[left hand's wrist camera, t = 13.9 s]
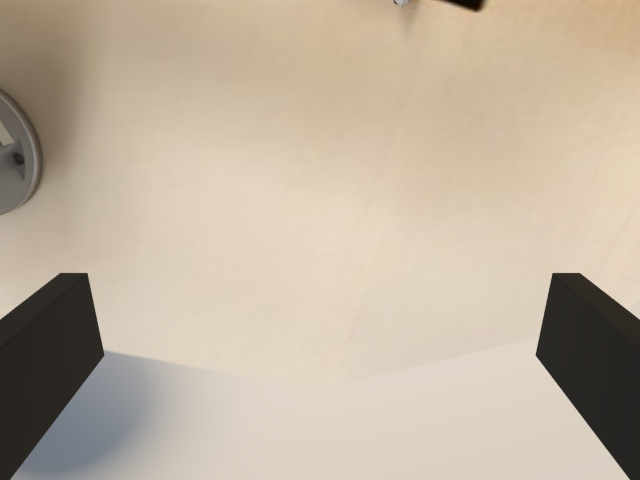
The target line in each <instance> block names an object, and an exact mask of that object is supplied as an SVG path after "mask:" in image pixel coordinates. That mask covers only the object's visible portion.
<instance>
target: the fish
mask: <svg viewBox="0 0 640 480" xmlns="http://www.w3.org/2000/svg"><path fill="white" fill-rule="evenodd" d="M409 1H410V0H394V3H395V4H397V5H398V6H400V7H402V6H404V5H406V4H407V3H409Z"/></svg>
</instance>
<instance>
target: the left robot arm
mask: <svg viewBox="0 0 640 480" xmlns="http://www.w3.org/2000/svg"><path fill="white" fill-rule="evenodd" d="M41 171H42V154H41V148H40V144H39V141H38V138H37V135H36V133H35V130H34V128H33V126H32V124H31V123H30V121H29V119H28V118H27V116H26V115H25V113H24V112H23V111H22V109H21V108H20V107H19V106H18V105H17V104H16V103H15V102H14V101H13V100H12V99H11V98H10V97H9V96H8V95H7V94H5V93H4V92H3V91H2V90H0V215H2V214H5V213H7V212H9V211H11V210H13V209H15V208H17V207H19V206H21V205H22V204H23V203H24V202H26V201H27V200H28V199H29V198H30V197H31V195H32V194H33V193H34V191H35V189H36V187H37V185H38V183H39V180H40V176H41ZM103 356H104V351H103V346H102V341H101V337H100V332H99V327H98V322H97V317H96V312H95V308H94V303H93V298H92V293H91V288H90V283H89V279H88V274H87V273H60V274H58V275H57V276H56V277H55V278H53V279H52V280H51V281H49V282H48V283H47V284H46V285H44V286H43V287H42V288H40V289H39V290H38V291H37V292H35V293H34V294H33V295H31V296H30V297H29V298H28V299H26V300H25V301H24V302H22V303H21V304H20V305H19V306H17V307H16V308H15V309H13V310H12V311H11V312H10V313H8V314H7V315H6V316H4V317H3V318H2V319H1V320H0V480H10V479H11V478H12V476H13V475H14V474H15V472H16V471H17V470H18V468H19V467H20V466H21V464H22V463H23V462H24V461H25V459H26V458H27V457H28V455H29V454H30V453H31V451H32V450H33V449H34V447H35V446H36V445H37V443H38V442H39V441H40V439H41V438H42V437H43V436H44V434H45V433H46V431H47V430H48V429H49V428H50V426H51V425H52V424H53V422H54V421H55V420H56V418H57V417H58V416H59V414H60V413H61V412H62V410H63V409H64V408H65V407H66V405H67V404H68V403H69V401H70V400H71V399H72V397H73V396H74V395H75V393H76V392H77V391H78V389H79V388H80V387H81V385H82V384H83V383H84V382H85V380H86V379H87V378H88V376H89V375H90V374H91V372H92V371H93V370H94V368H95V367H96V366H97V364H98V363H99V362H100V360H101V359H102V358H103ZM536 356H537V358H538V359H539V360H540V362H541V363H542V364H543V366H544V367H545V368H546V370H547V371H548V372H549V374H550V375H551V376H552V378H553V379H554V380H555V381H556V383H557V384H558V385H559V387H560V388H561V389H562V391H563V392H564V393H565V395H566V396H567V397H568V399H569V400H570V401H571V403H572V404H573V405H574V407H575V408H576V409H577V410H578V412H579V413H580V414H581V416H582V417H583V418H584V420H585V421H586V422H587V424H588V425H589V426H590V428H591V429H592V430H593V432H594V433H595V434H596V435H597V437H598V438H599V439H600V441H601V442H602V443H603V445H604V446H605V447H606V449H607V450H608V451H609V453H610V454H611V455H612V457H613V458H614V459H615V460H616V462H617V463H618V464H619V466H620V467H621V468H622V470H623V471H624V472H625V474H626V475H627V476H628V478H629V479H630V480H640V320H639V319H638V318H637V317H635V316H634V315H633V314H632V313H630V312H629V311H628V310H627V309H625V308H624V307H623V306H621V305H620V304H619V303H618V302H616V301H615V300H614V299H612V298H611V297H610V296H609V295H607V294H606V293H605V292H603V291H602V290H601V289H600V288H598V287H597V286H596V285H594V284H593V283H592V282H591V281H589V280H588V279H587V278H585V277H584V276H583V275H582V274H580V273H553V274H552V279H551V283H550V288H549V293H548V298H547V303H546V308H545V312H544V317H543V322H542V327H541V332H540V337H539V342H538V346H537V351H536Z"/></svg>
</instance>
